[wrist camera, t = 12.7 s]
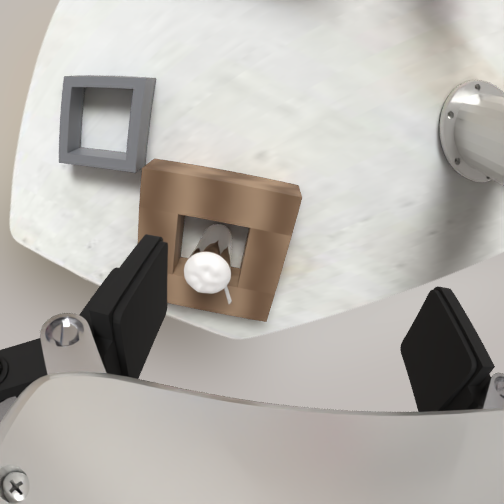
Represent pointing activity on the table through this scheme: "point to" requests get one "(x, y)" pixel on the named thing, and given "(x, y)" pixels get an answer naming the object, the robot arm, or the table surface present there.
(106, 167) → the grey square frame
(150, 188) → the socket block
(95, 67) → the table surface
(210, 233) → the milkshake
